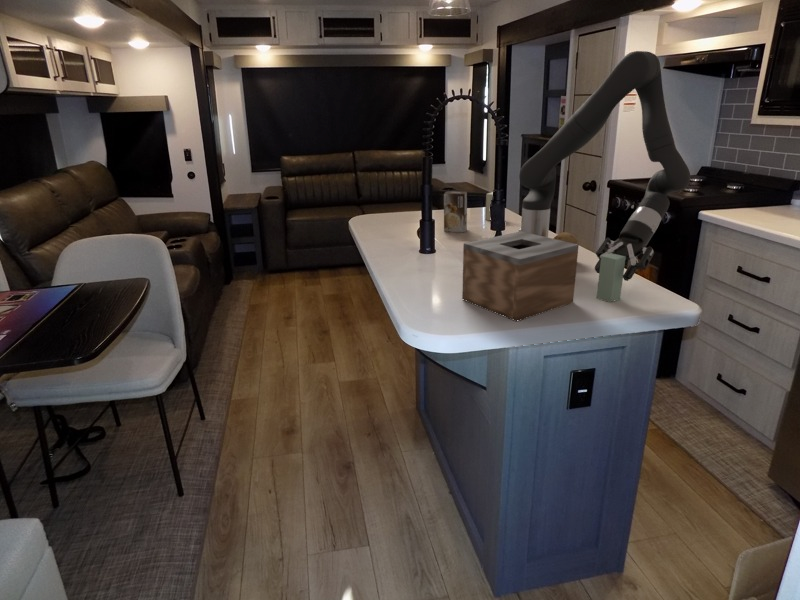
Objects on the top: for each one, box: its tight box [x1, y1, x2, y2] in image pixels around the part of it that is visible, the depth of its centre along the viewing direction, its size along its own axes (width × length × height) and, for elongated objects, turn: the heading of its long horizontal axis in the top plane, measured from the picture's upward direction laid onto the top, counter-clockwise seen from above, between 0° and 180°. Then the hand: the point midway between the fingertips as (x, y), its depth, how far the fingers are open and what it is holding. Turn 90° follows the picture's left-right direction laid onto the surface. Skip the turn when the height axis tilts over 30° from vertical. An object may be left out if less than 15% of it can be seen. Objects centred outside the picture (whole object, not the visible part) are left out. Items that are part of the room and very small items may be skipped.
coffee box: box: [443, 191, 468, 233], centre depth 226 cm, size 9×6×16 cm
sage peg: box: [596, 253, 626, 303], centre depth 146 cm, size 4×4×12 cm
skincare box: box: [484, 191, 494, 221], centre depth 247 cm, size 6×4×12 cm
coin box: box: [461, 231, 580, 322], centre depth 144 cm, size 20×22×16 cm
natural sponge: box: [552, 232, 579, 245], centre depth 181 cm, size 9×9×10 cm
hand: (610, 275), depth 145 cm, fingers open, 8 cm apart
